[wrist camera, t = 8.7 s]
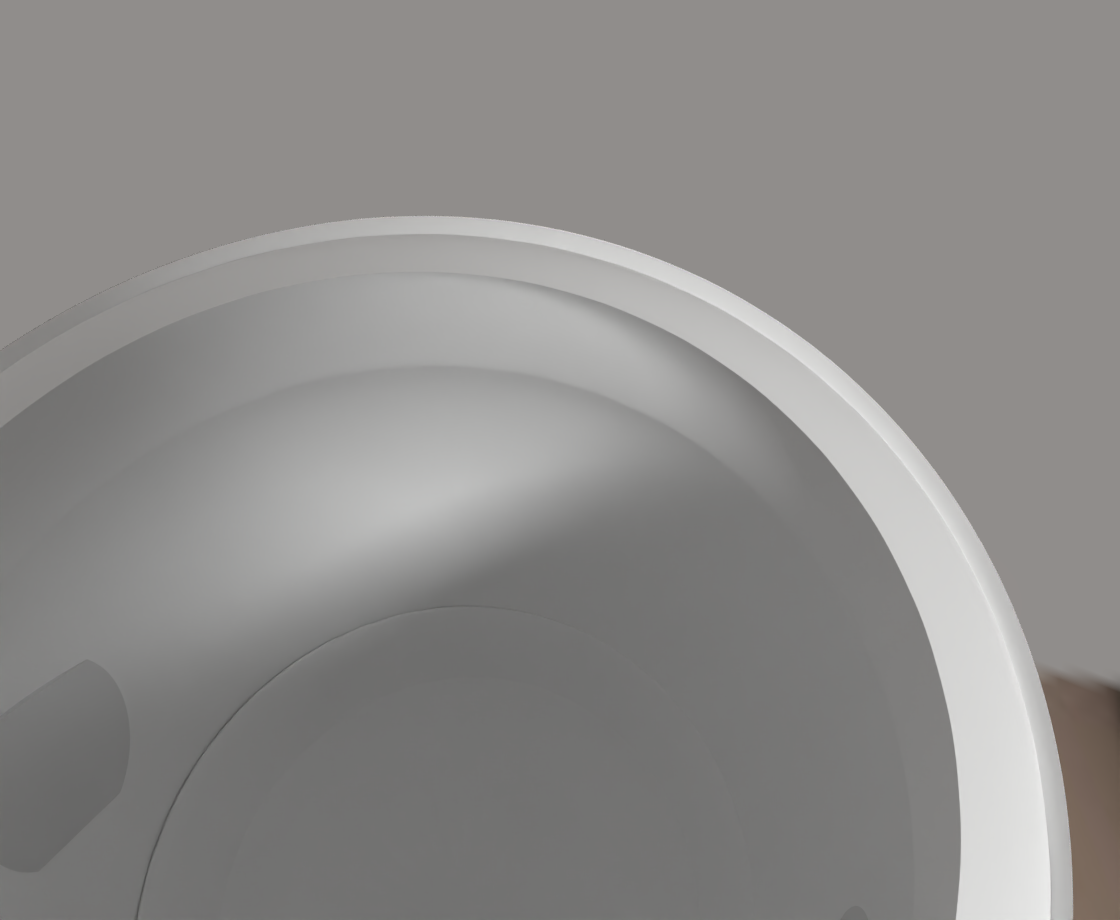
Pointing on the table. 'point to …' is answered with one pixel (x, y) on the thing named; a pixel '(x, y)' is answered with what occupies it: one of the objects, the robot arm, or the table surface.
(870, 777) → the jar
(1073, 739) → the table surface
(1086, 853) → the table surface
